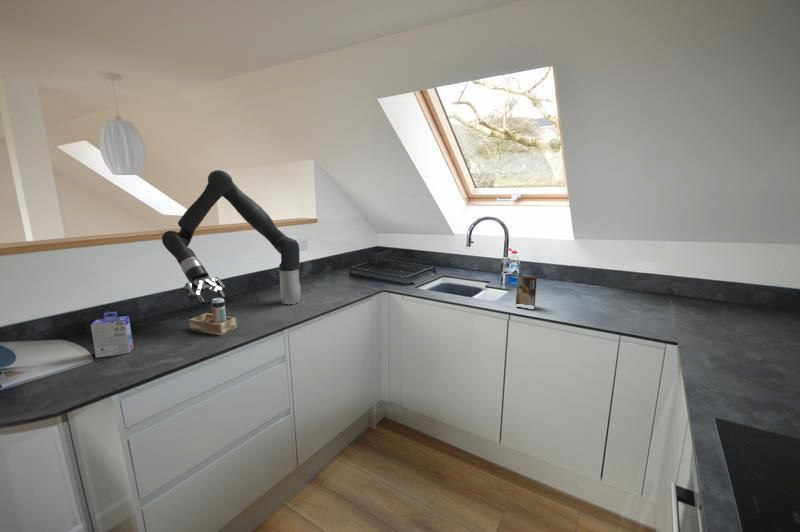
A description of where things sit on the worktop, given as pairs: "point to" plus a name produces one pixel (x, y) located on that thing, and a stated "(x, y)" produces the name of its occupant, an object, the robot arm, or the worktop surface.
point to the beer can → (218, 310)
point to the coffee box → (526, 289)
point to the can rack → (212, 324)
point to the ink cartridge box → (112, 335)
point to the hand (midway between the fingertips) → (213, 301)
